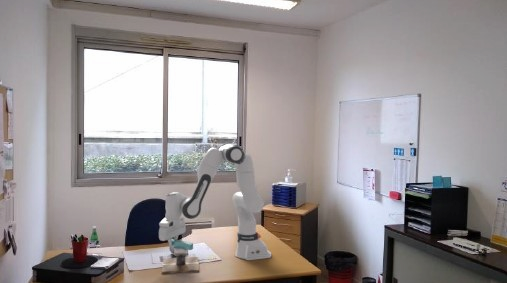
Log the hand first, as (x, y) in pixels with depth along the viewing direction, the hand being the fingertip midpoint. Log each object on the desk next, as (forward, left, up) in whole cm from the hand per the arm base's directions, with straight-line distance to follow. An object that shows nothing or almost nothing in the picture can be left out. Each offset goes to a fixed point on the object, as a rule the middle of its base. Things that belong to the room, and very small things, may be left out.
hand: (172, 244), depth 212 cm
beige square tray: (-5, +4, -12) cm, 13 cm away
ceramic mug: (-3, -16, -12) cm, 20 cm away
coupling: (-5, +3, -4) cm, 7 cm away
